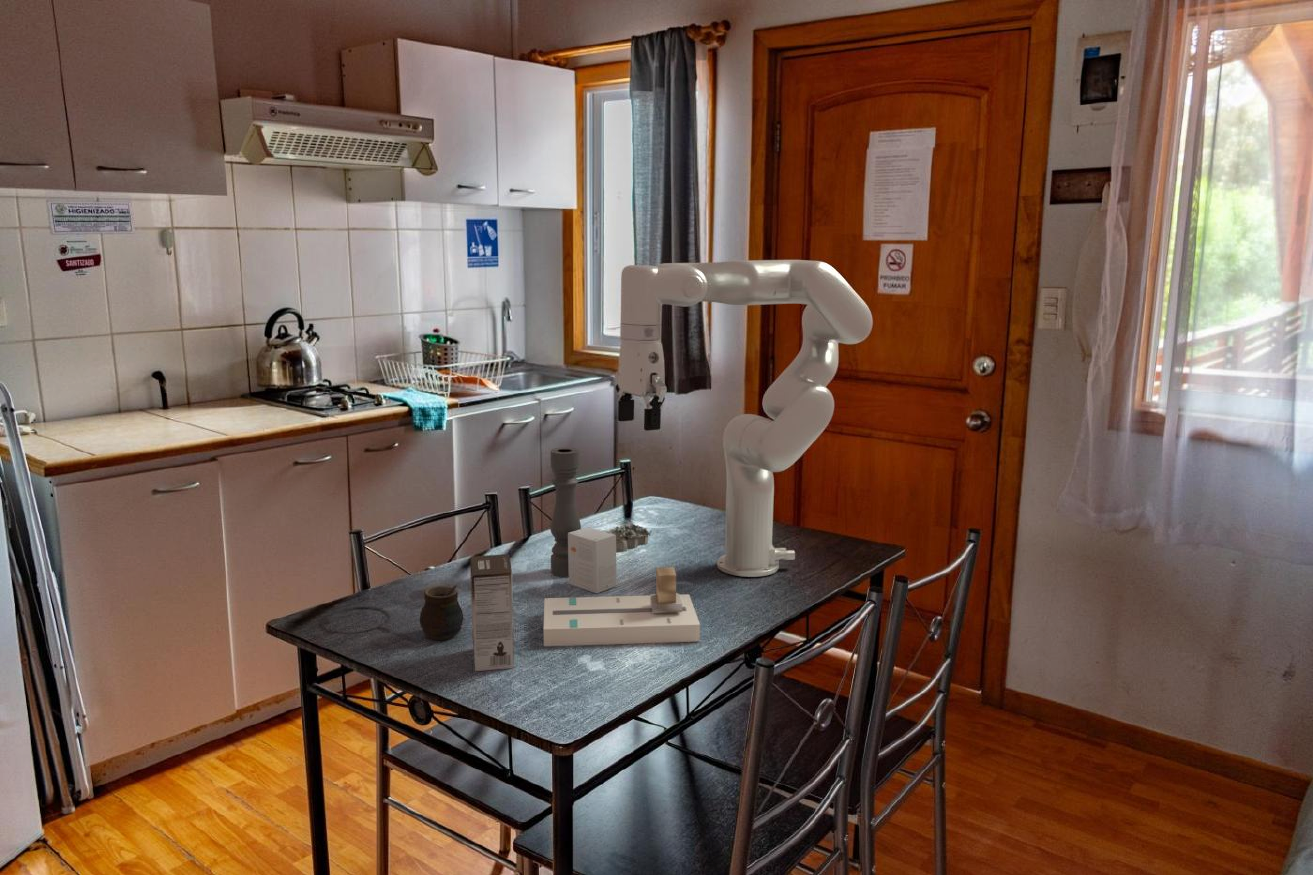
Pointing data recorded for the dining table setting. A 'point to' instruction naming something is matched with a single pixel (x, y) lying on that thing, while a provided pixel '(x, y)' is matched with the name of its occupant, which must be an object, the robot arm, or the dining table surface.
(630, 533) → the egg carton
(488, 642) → the coffee box
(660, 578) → the fader
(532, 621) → the dining table surface
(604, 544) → the small box
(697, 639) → the console
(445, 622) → the mate gourd
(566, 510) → the candle holder
